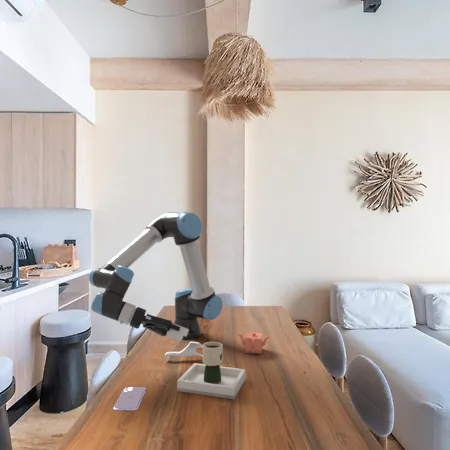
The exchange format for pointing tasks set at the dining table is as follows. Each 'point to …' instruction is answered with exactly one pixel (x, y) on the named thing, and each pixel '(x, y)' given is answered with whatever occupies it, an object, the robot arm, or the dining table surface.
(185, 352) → the white flat pronged piece
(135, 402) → the mobile phone
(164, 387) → the dining table surface
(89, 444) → the dining table surface
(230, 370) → the tray
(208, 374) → the character mug
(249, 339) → the teapot
